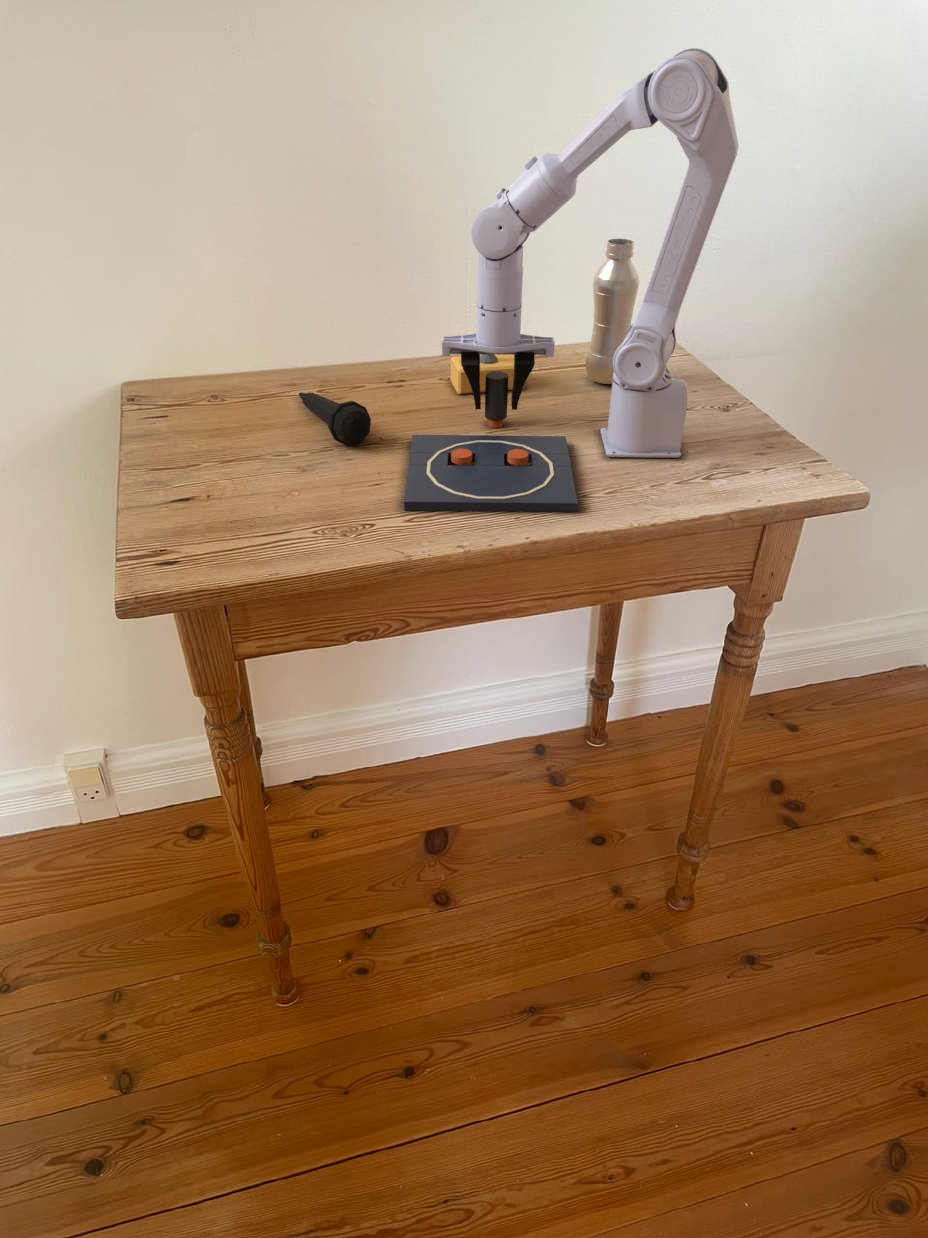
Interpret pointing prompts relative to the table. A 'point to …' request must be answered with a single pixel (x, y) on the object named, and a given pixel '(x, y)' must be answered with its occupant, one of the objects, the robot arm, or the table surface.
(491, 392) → the marker
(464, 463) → the eye
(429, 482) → the face board
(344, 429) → the microphone
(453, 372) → the rubber stamp
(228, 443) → the table surface
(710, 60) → the robot arm
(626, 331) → the plastic bottle
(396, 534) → the table surface
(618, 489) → the table surface
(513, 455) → the eye
